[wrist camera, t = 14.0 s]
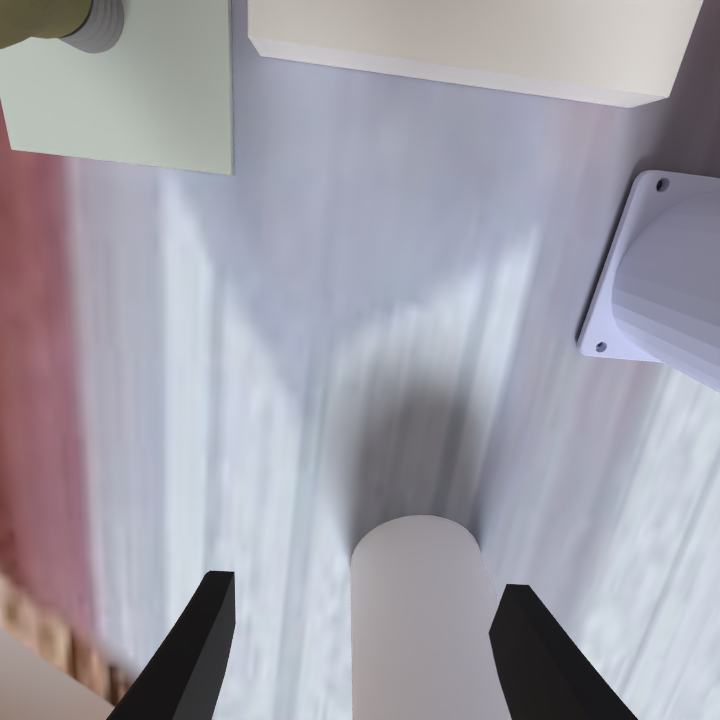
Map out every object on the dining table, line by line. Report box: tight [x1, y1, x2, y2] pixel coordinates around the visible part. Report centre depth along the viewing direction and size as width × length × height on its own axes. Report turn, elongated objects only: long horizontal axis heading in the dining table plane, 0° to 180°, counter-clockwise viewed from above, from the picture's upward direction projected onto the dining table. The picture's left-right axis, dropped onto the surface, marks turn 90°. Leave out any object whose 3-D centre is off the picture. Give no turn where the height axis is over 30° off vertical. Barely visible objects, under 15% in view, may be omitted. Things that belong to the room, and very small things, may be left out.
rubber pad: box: [0, 0, 234, 176], centre depth 13 cm, size 8×8×1 cm
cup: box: [350, 515, 512, 720], centre depth 21 cm, size 8×12×10 cm
